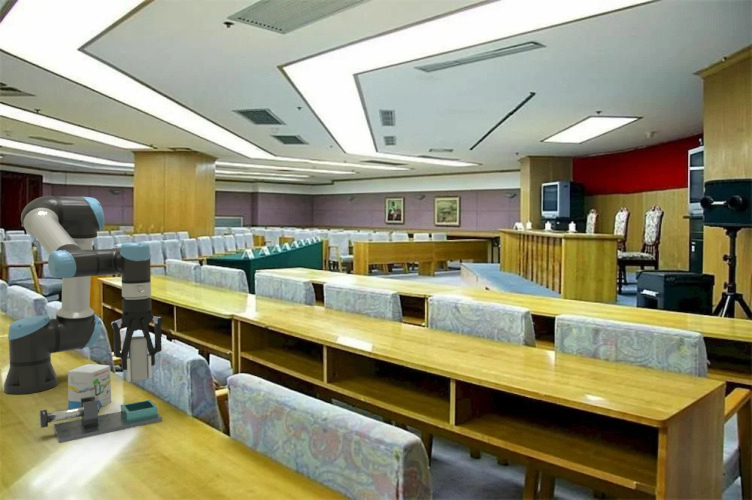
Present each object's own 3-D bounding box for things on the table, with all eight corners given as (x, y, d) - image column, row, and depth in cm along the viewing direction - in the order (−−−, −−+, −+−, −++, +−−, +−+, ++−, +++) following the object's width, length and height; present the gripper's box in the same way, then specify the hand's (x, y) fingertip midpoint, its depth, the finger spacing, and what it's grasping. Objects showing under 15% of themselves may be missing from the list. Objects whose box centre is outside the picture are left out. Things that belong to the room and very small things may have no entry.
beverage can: (151, 378, 155) (150, 336, 154) (139, 383, 150) (138, 340, 150) (138, 376, 156) (137, 335, 156) (125, 381, 152) (124, 339, 151)
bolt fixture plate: (53, 427, 147) (52, 399, 146) (150, 408, 161) (150, 382, 161) (59, 442, 137) (58, 412, 137) (161, 421, 152) (161, 393, 151)
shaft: (40, 424, 141) (39, 408, 141) (96, 414, 149) (96, 398, 149) (41, 430, 138) (41, 413, 138) (99, 418, 146) (99, 402, 146)
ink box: (92, 411, 159) (91, 372, 159) (67, 409, 161) (66, 370, 160) (112, 401, 168) (111, 364, 167) (88, 399, 169) (87, 363, 169)
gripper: (104, 301, 144) (106, 388, 145) (173, 296, 154) (174, 376, 156) (99, 298, 150) (101, 381, 151) (165, 293, 160) (167, 370, 162)
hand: (138, 378), depth 153 cm, fingers closed on beverage can, 5 cm apart
